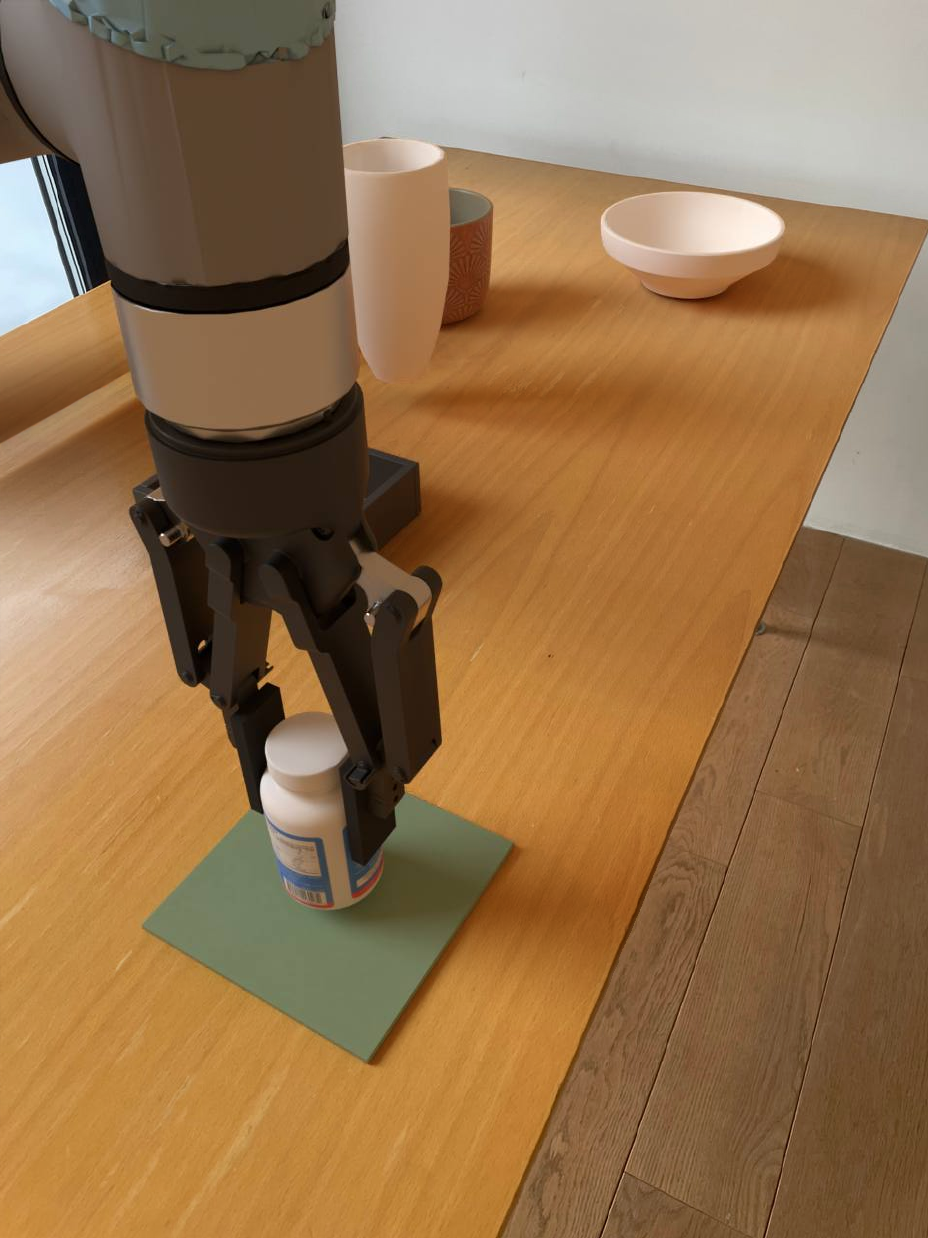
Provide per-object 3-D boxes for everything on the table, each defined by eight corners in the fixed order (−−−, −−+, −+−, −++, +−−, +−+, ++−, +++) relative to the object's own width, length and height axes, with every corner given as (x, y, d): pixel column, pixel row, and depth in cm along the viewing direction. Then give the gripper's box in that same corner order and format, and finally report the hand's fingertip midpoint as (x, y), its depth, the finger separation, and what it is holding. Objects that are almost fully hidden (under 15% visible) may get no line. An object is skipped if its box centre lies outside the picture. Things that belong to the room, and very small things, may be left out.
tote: (144, 538, 77) (131, 489, 75) (258, 457, 86) (250, 410, 83) (318, 606, 71) (311, 555, 68) (422, 511, 80) (419, 462, 77)
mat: (142, 929, 51) (140, 924, 51) (309, 751, 61) (308, 746, 60) (368, 1065, 46) (367, 1060, 46) (514, 846, 55) (514, 842, 55)
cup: (380, 441, 88) (360, 184, 74) (325, 394, 95) (296, 151, 81) (479, 408, 92) (477, 159, 78) (419, 365, 99) (408, 129, 85)
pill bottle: (367, 815, 55) (352, 686, 49) (398, 893, 51) (386, 765, 45) (268, 845, 54) (239, 717, 47) (292, 928, 50) (265, 801, 43)
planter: (376, 336, 104) (368, 229, 97) (380, 288, 114) (372, 187, 107) (496, 332, 104) (496, 225, 97) (489, 285, 114) (490, 184, 107)
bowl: (560, 284, 114) (563, 219, 109) (672, 240, 124) (679, 179, 119) (698, 339, 103) (708, 269, 98) (809, 286, 112) (823, 221, 108)
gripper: (542, 406, 33) (524, 840, 48) (134, 296, 41) (229, 704, 56) (421, 519, 28) (442, 963, 44) (-19, 372, 36) (130, 796, 51)
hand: (322, 817), depth 50 cm, fingers closed on pill bottle, 5 cm apart
